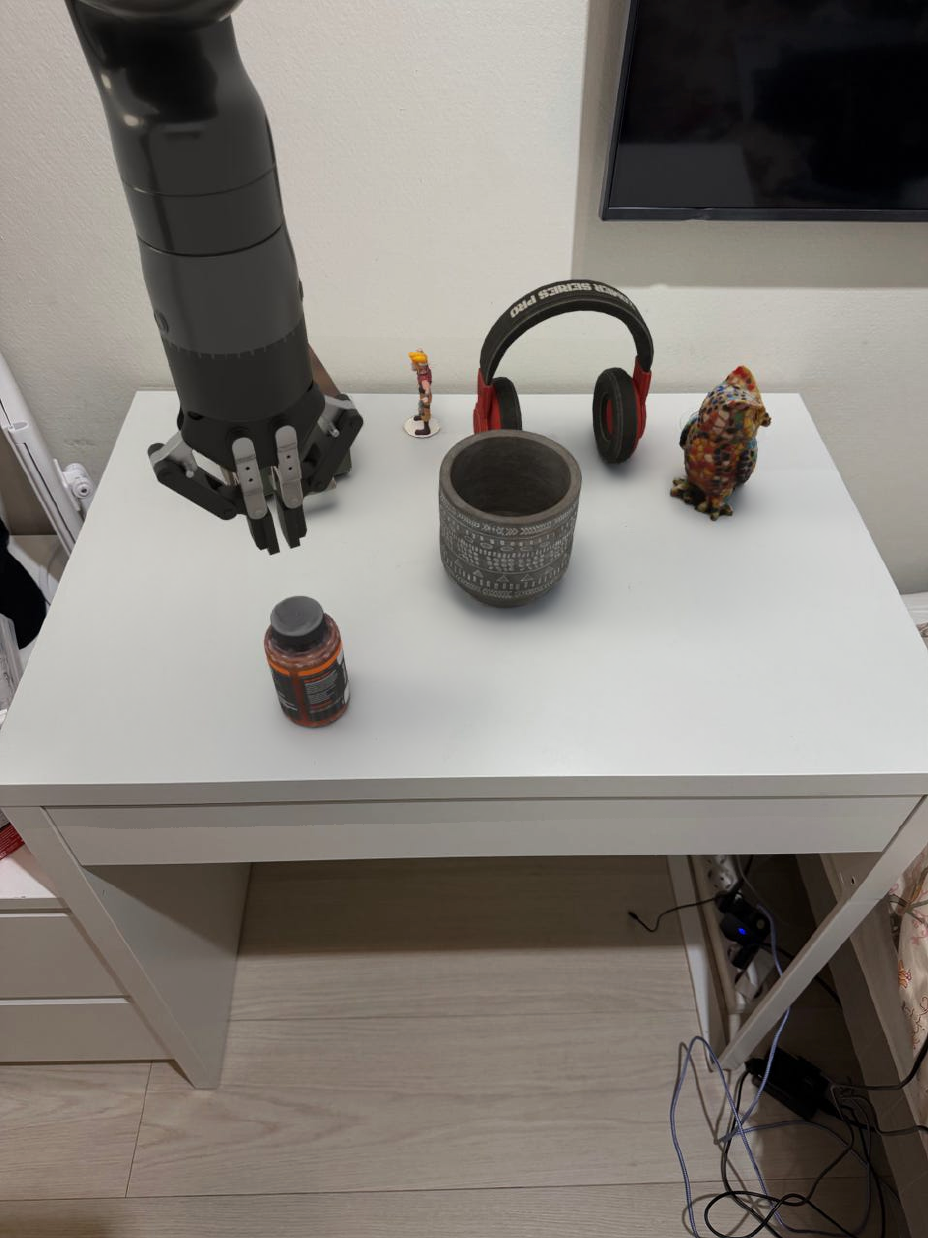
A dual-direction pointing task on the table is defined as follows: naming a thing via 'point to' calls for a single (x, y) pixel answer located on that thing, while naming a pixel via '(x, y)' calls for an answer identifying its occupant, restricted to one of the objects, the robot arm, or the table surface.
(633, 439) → the headphones
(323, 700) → the supplement bottle
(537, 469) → the planter
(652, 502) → the table surface
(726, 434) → the figurine
